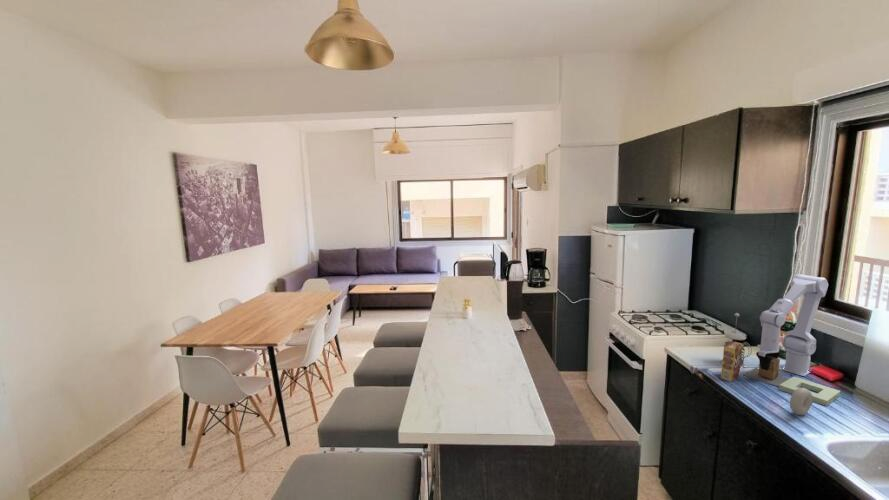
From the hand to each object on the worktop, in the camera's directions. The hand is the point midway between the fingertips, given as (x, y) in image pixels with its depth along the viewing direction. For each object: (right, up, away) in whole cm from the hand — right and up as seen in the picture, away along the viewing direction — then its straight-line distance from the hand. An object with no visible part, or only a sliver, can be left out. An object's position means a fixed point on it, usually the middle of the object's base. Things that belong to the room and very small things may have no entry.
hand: (767, 368), depth 157 cm
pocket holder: (+6, -6, -12) cm, 15 cm away
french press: (-3, -3, +13) cm, 14 cm away
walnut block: (0, -3, 0) cm, 3 cm away
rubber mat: (0, -4, +1) cm, 4 cm away
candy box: (-15, -5, +1) cm, 16 cm away
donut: (-12, -9, -26) cm, 30 cm away
